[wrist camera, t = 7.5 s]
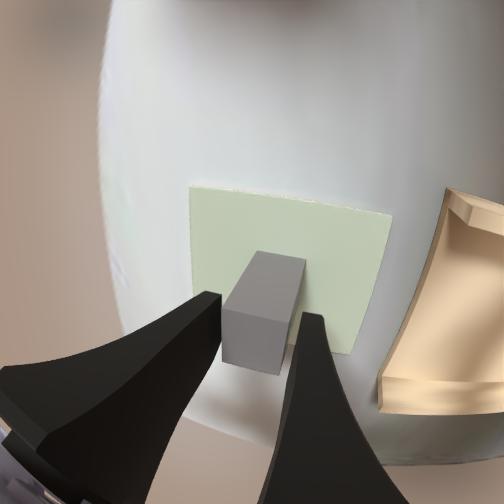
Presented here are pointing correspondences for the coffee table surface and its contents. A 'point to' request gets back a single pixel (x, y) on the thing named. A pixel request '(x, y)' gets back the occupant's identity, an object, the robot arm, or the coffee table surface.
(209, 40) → the coffee table surface
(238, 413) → the coffee table surface
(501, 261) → the box
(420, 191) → the coffee table surface
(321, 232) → the cover plate
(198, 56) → the coffee table surface
